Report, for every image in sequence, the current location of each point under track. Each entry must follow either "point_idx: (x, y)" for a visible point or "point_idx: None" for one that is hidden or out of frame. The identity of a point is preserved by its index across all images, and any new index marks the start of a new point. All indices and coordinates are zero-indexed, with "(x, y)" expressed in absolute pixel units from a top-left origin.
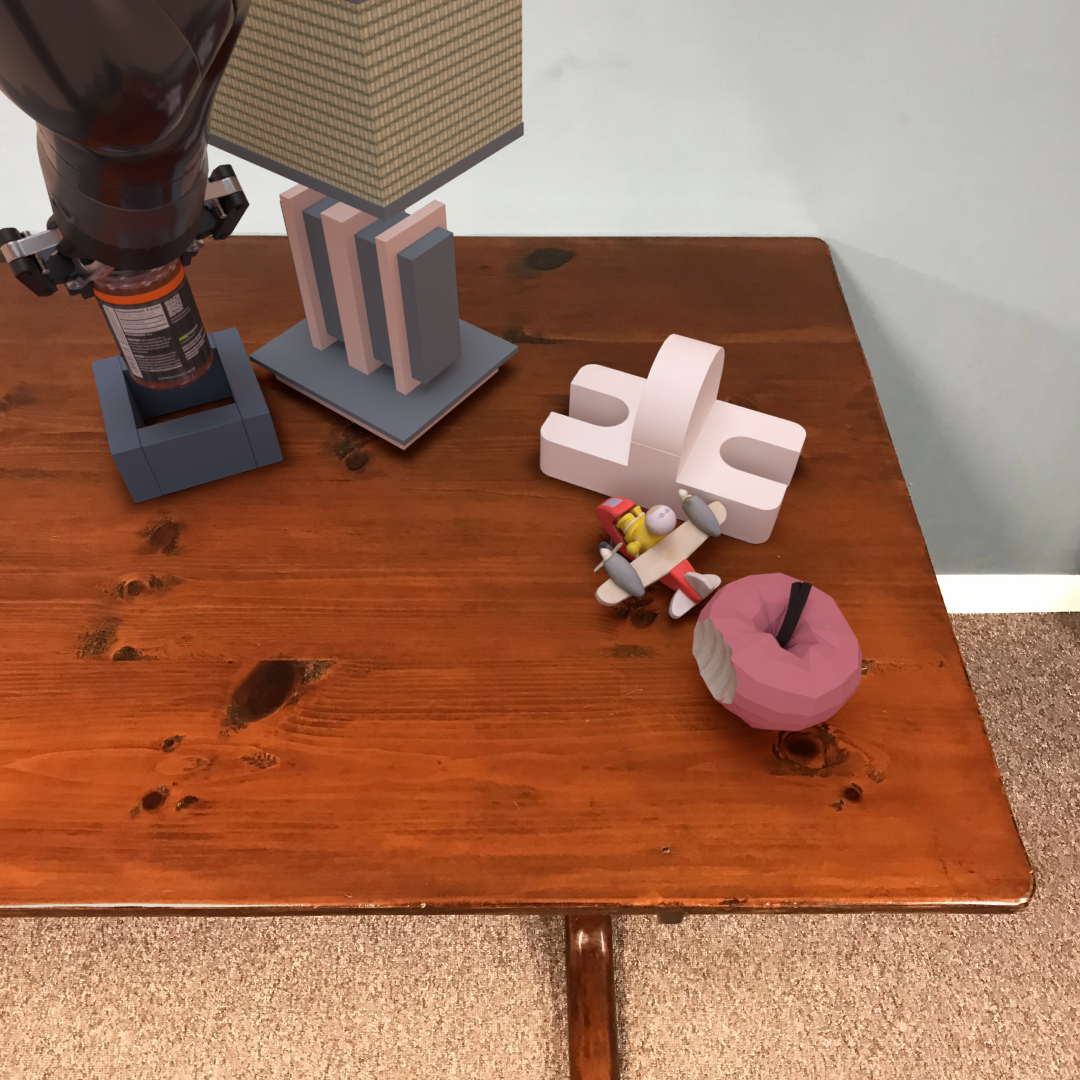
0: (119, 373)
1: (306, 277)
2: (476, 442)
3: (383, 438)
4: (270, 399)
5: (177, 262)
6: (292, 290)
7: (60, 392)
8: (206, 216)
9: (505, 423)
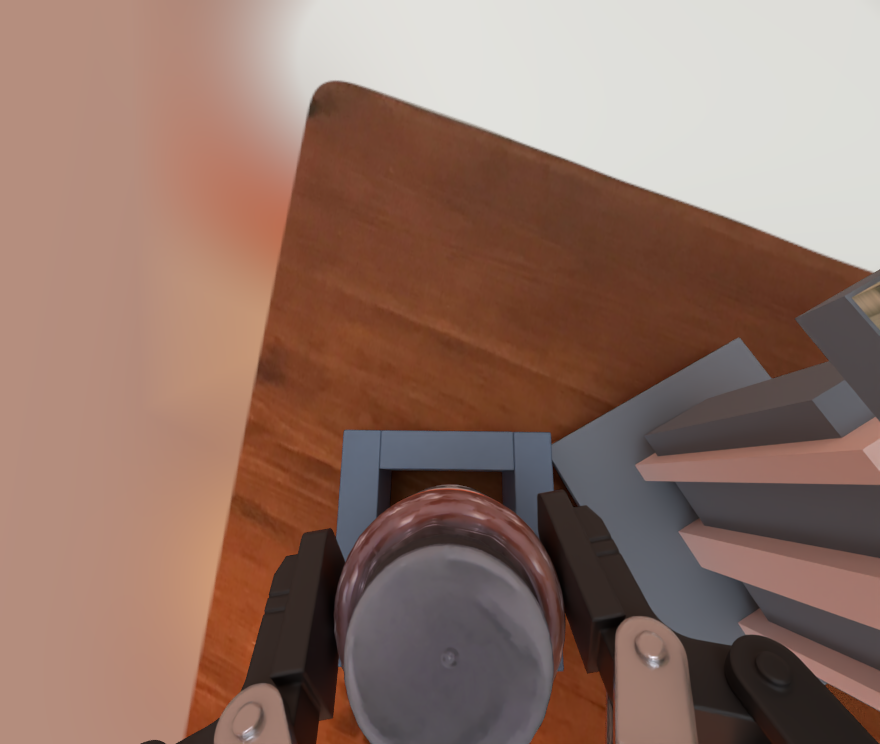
0: (374, 475)
1: (726, 481)
2: None
3: None
4: None
5: (559, 664)
6: (613, 290)
7: (312, 375)
8: (746, 733)
9: (853, 697)
